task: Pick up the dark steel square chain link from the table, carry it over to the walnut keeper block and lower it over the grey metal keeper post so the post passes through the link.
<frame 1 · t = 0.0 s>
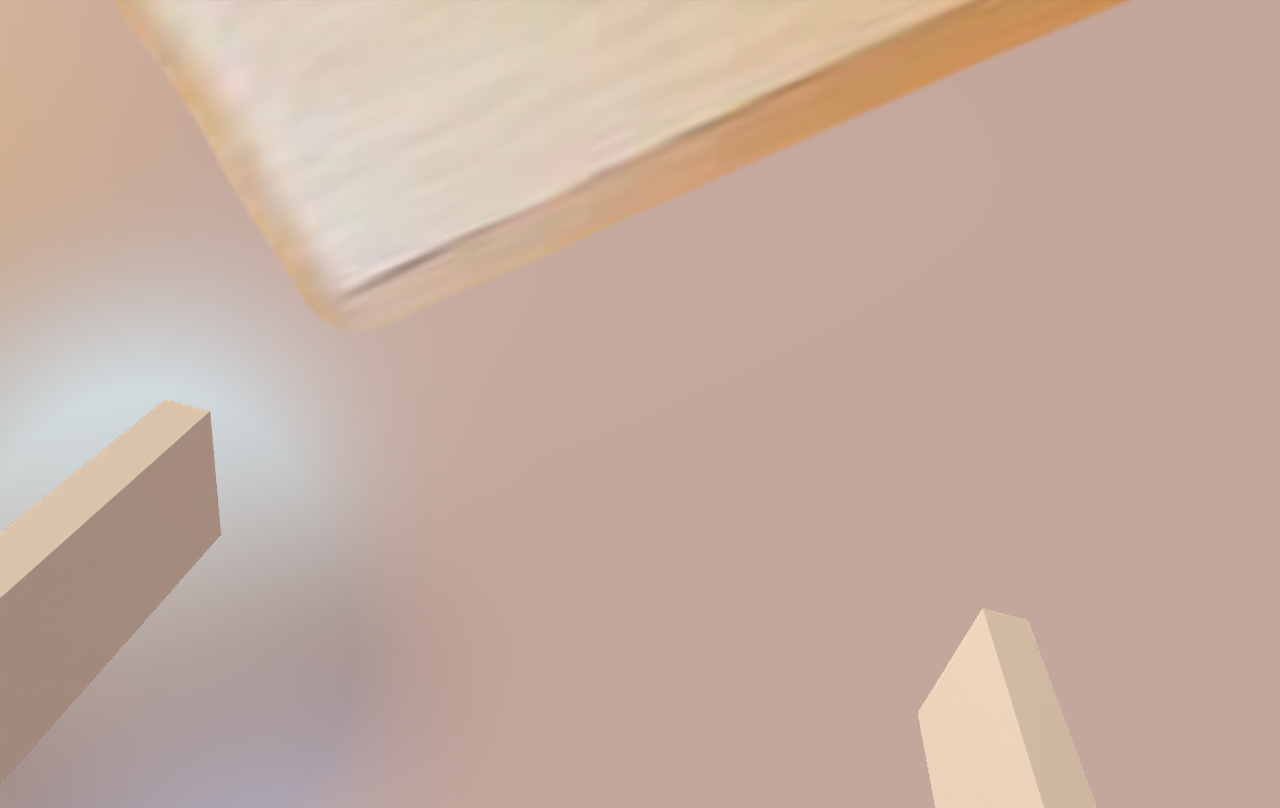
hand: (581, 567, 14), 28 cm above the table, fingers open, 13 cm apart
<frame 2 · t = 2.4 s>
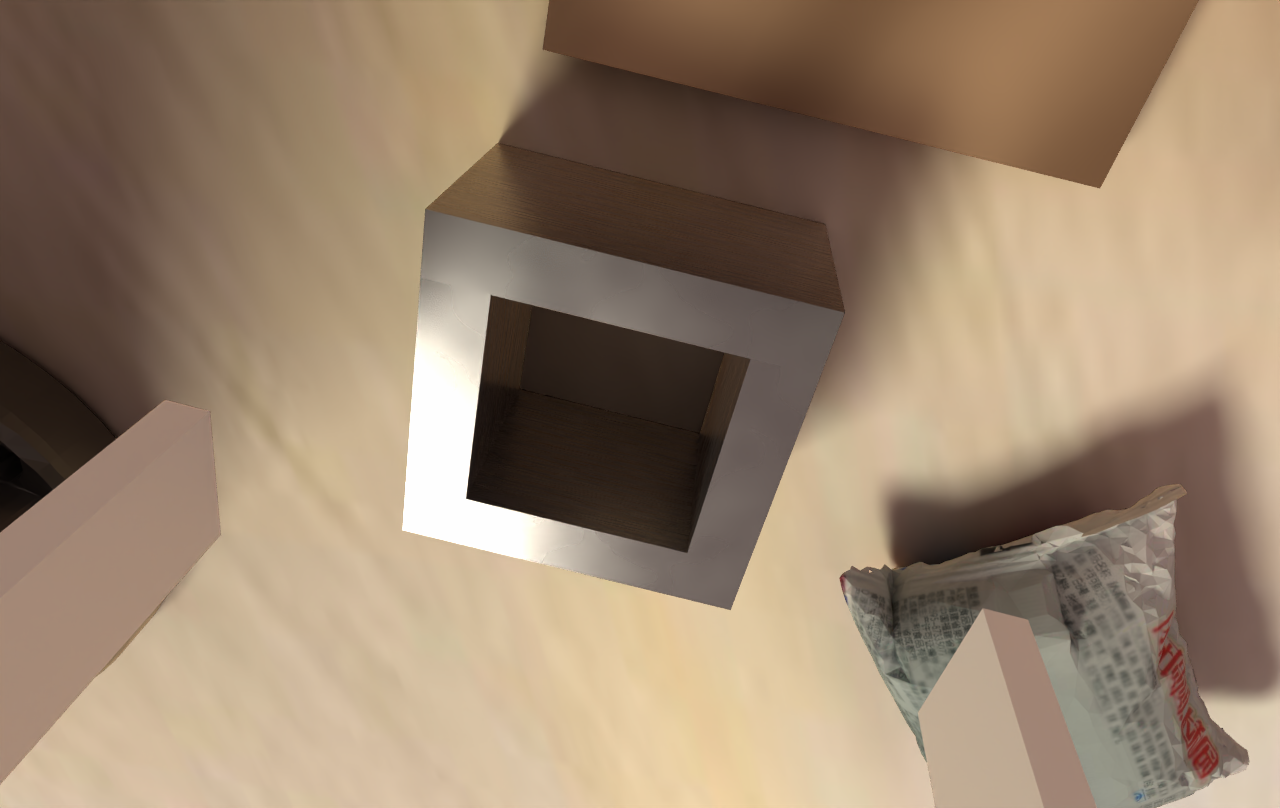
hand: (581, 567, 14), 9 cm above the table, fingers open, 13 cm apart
link: (628, 330, 21), on the table
packaged food: (1034, 614, 25), on the table
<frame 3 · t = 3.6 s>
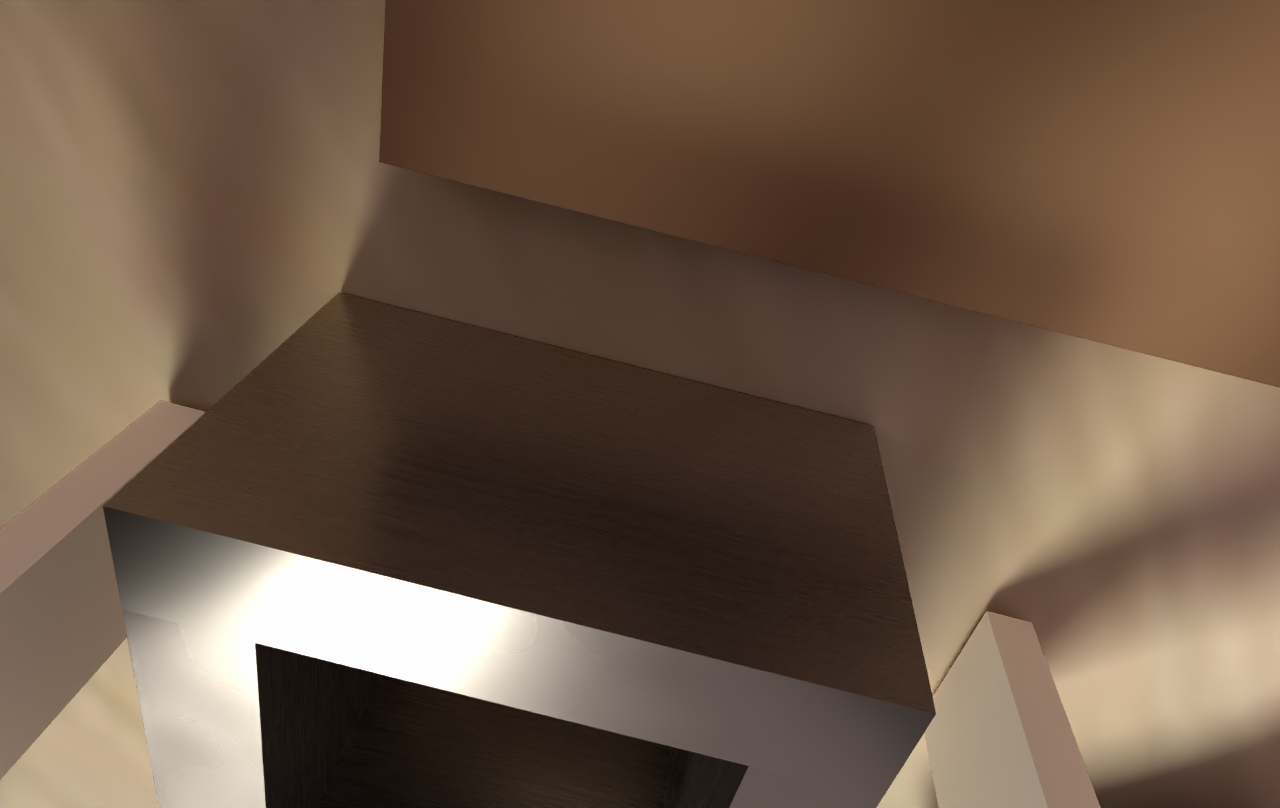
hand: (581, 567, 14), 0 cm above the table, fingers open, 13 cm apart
link: (563, 558, 14), on the table
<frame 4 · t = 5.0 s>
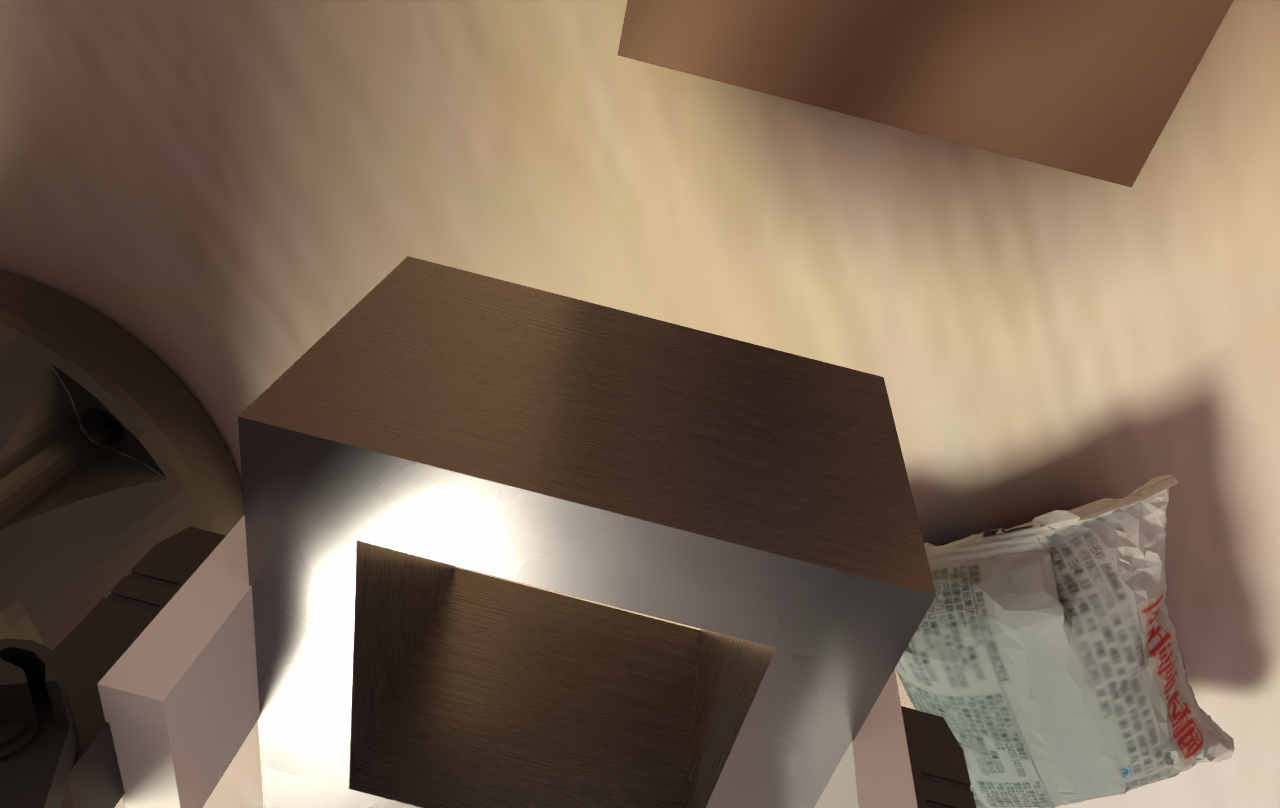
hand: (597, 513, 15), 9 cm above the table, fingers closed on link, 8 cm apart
link: (600, 503, 15), point 9 cm above the table, touching gripper
packaged food: (1034, 601, 27), on the table
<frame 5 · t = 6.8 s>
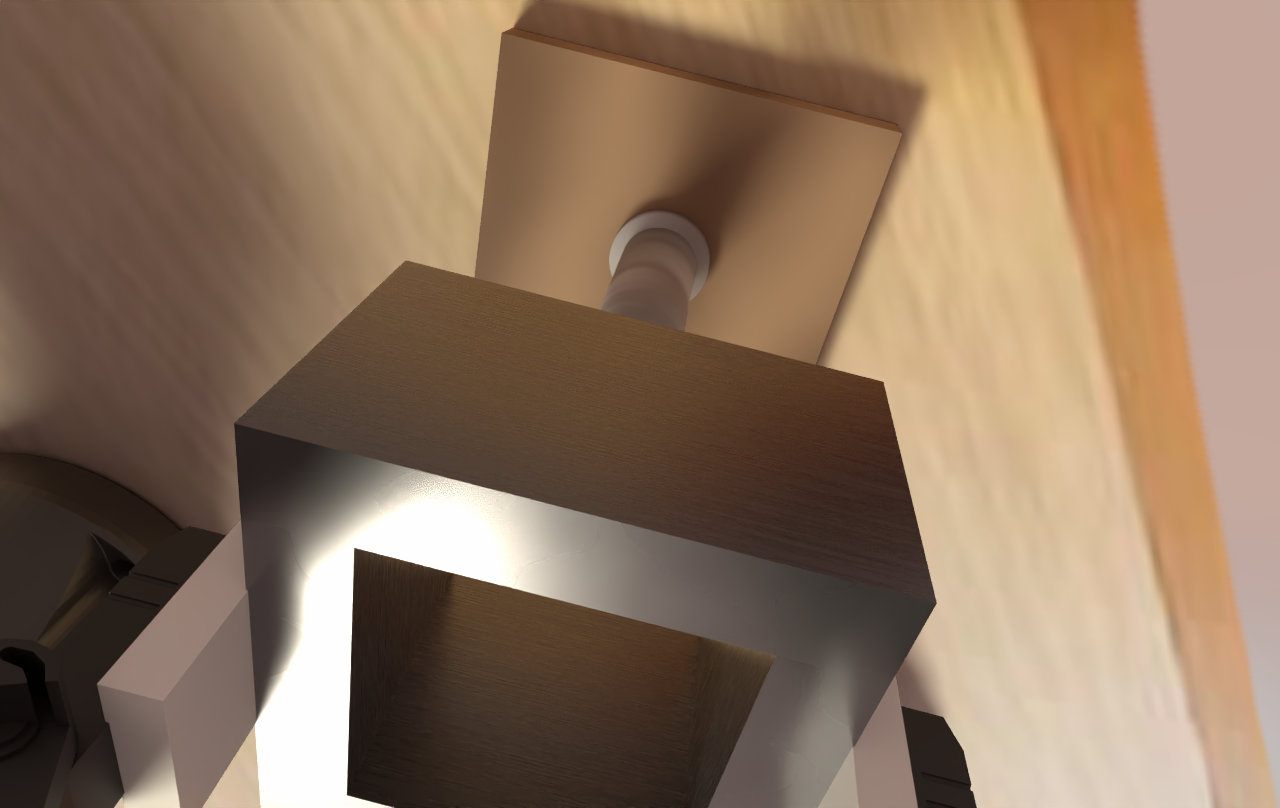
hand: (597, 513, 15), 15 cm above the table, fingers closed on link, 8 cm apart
link: (599, 507, 15), point 14 cm above the table, touching gripper
keeper: (664, 244, 28), on the table
when the fingers open (2 cm above the table, at t = 9.0 s): link stays where it is, resting on keeper.
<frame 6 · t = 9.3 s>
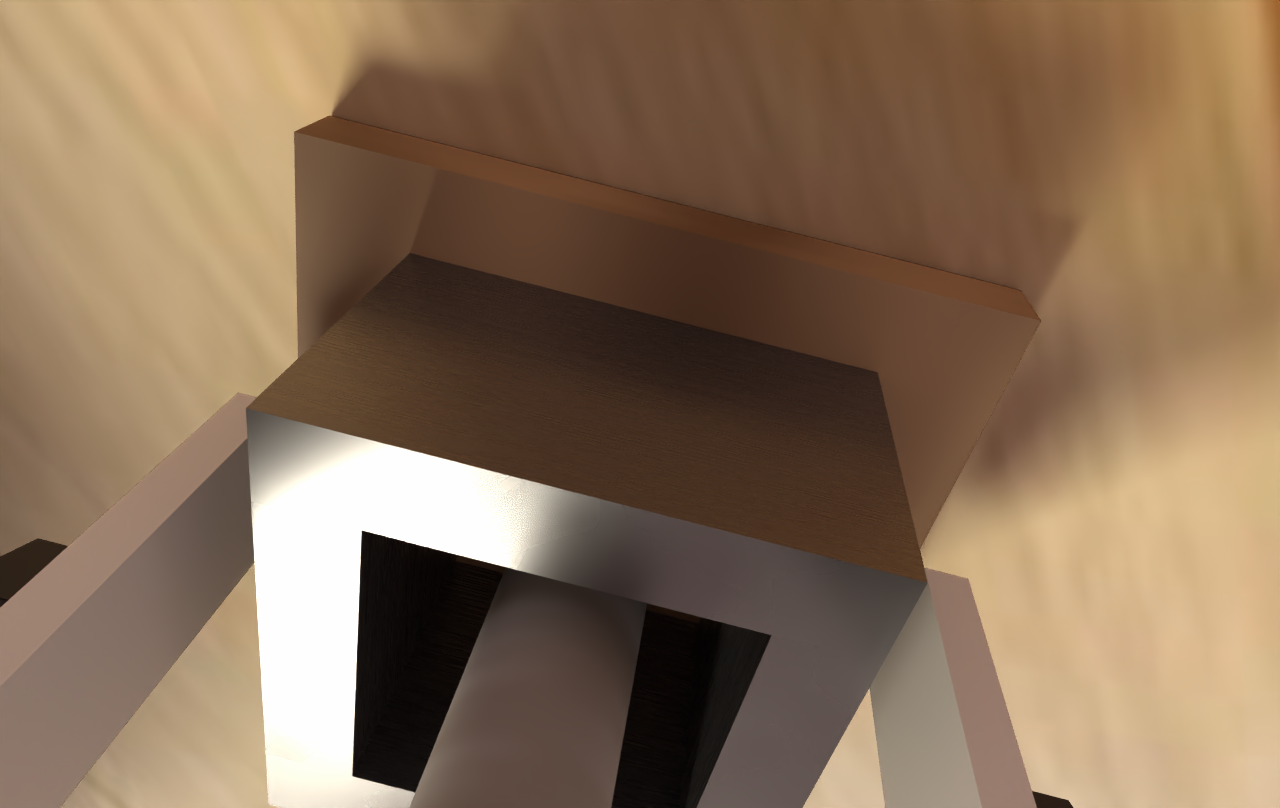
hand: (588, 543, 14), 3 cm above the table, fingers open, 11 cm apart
link: (599, 496, 16), point 1 cm above the table, touching keeper
keeper: (612, 460, 17), on the table
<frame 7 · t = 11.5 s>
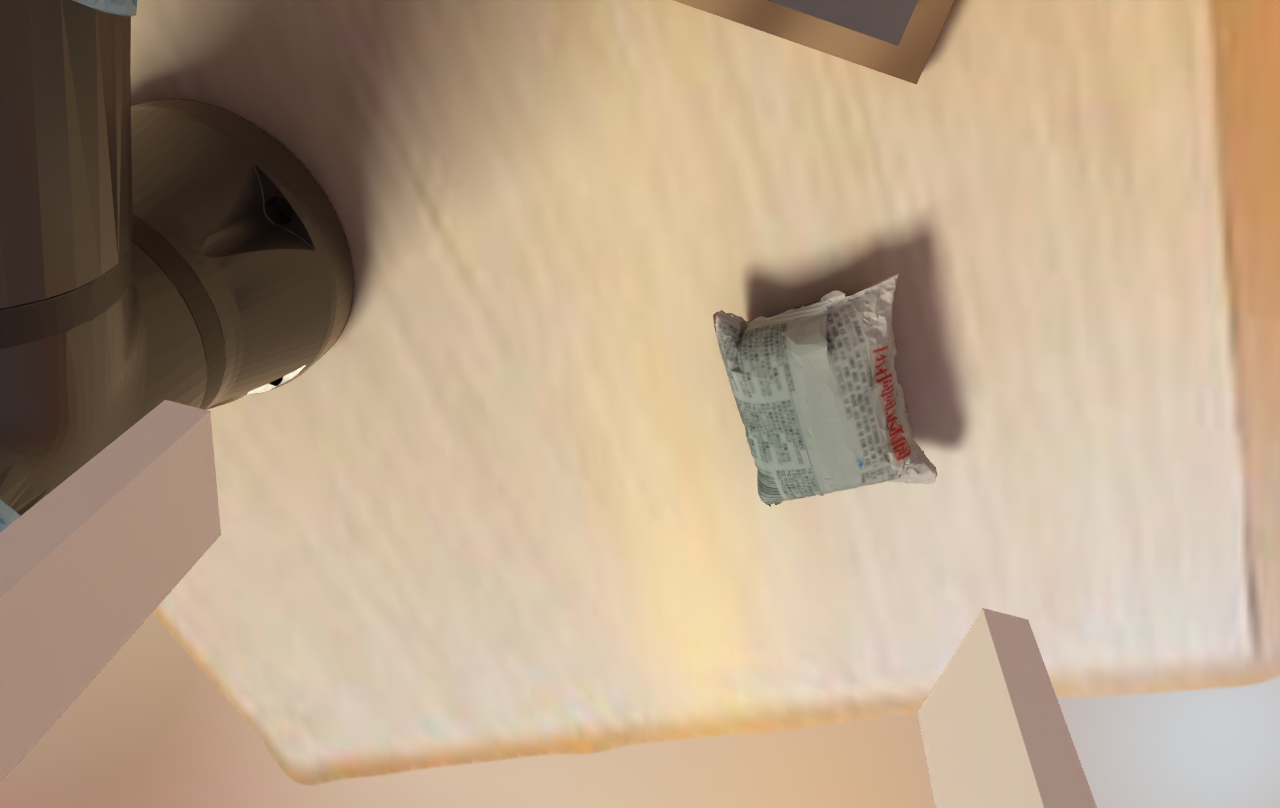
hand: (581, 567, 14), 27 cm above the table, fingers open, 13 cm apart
packaged food: (829, 376, 42), on the table
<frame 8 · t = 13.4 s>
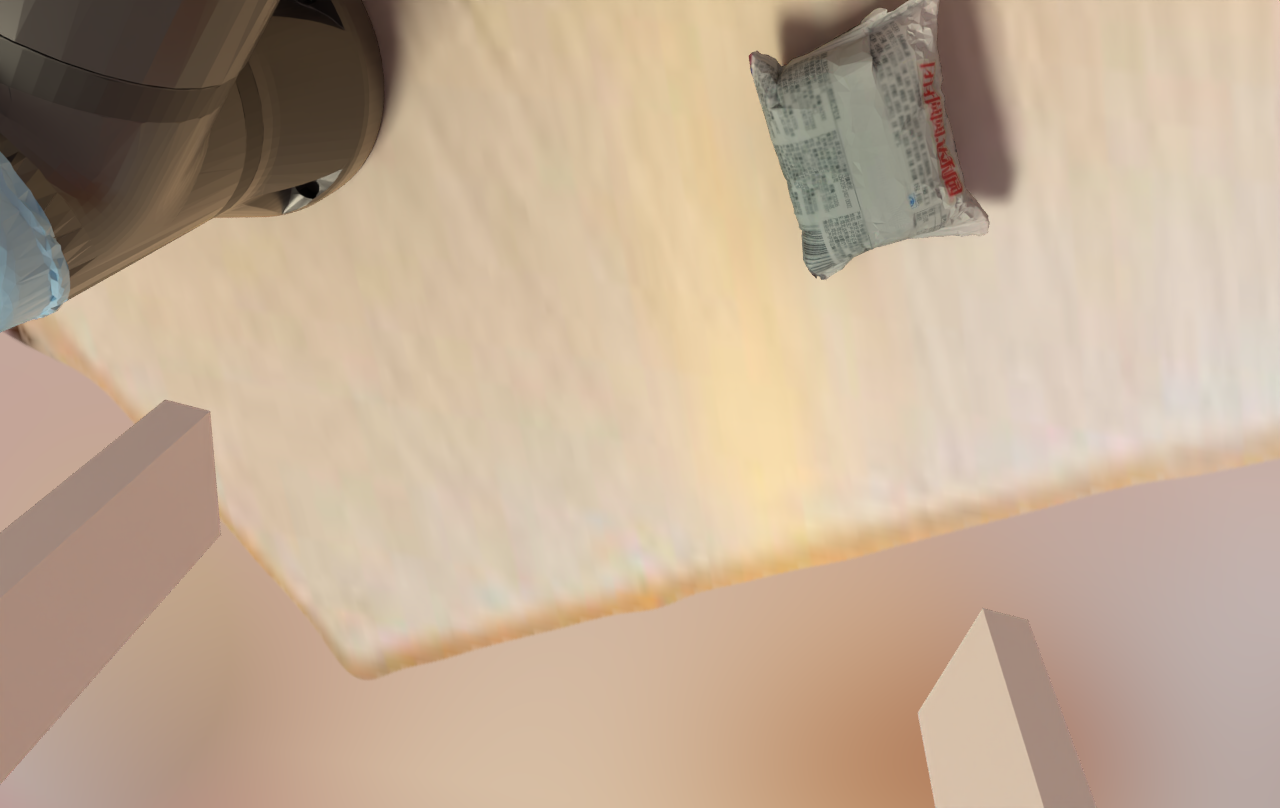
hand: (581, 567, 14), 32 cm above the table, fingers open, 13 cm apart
packaged food: (870, 133, 40), on the table
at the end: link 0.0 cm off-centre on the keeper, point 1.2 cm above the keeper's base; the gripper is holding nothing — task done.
